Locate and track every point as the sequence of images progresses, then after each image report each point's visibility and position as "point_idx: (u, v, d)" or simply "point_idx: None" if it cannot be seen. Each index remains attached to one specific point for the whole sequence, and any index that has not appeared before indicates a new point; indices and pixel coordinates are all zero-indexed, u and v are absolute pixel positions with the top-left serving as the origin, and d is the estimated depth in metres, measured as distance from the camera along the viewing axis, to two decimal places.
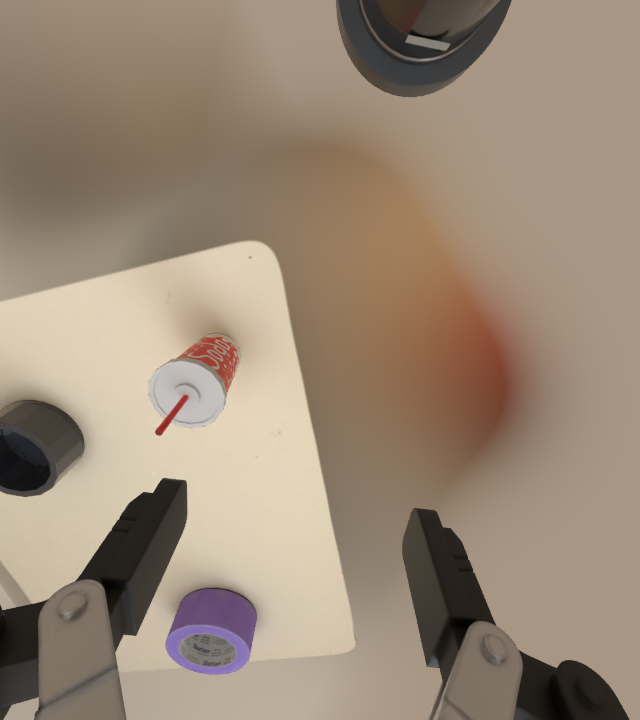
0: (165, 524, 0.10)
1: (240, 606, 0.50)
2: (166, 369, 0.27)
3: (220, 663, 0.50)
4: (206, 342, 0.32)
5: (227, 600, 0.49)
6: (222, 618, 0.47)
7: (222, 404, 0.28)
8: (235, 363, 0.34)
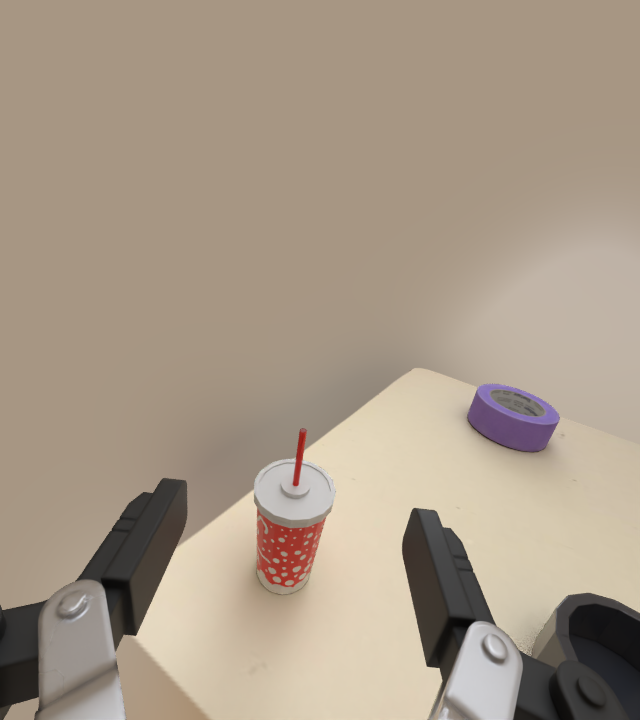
0: (165, 524, 0.10)
1: (473, 416, 0.55)
2: (282, 512, 0.24)
3: (514, 394, 0.57)
4: (262, 557, 0.27)
5: (481, 424, 0.53)
6: (486, 411, 0.52)
7: (279, 461, 0.28)
8: None
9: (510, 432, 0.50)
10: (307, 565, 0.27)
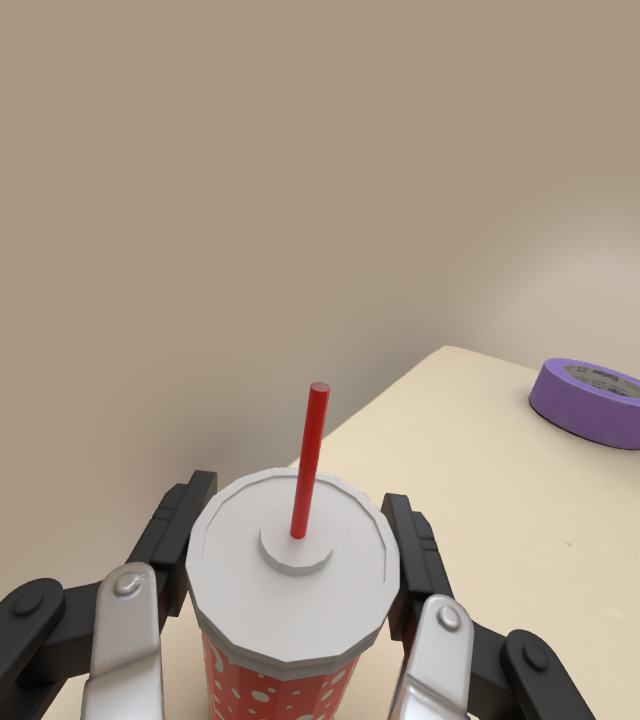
0: None
1: (541, 401, 0.39)
2: (259, 632, 0.08)
3: (592, 371, 0.42)
4: (216, 712, 0.11)
5: (556, 412, 0.38)
6: (566, 392, 0.37)
7: (259, 473, 0.12)
8: None
9: (605, 421, 0.35)
10: None
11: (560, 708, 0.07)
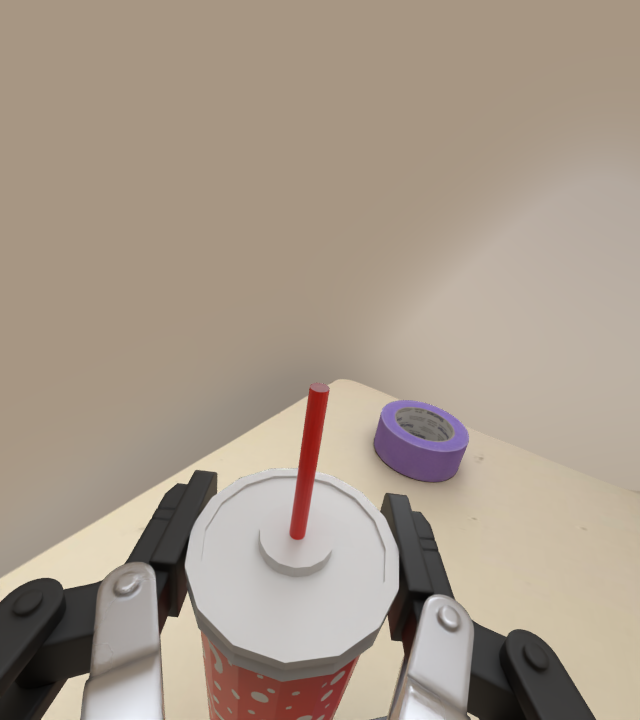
0: None
1: (376, 439, 0.48)
2: (258, 633, 0.08)
3: (427, 412, 0.51)
4: (215, 713, 0.11)
5: (382, 449, 0.46)
6: (386, 435, 0.45)
7: (258, 474, 0.12)
8: None
9: (409, 460, 0.43)
10: None
11: (560, 708, 0.07)
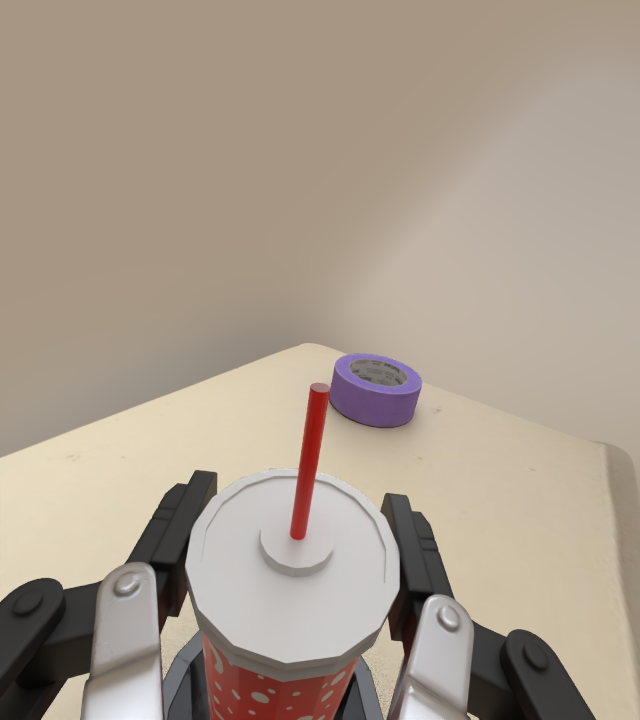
0: None
1: (330, 389, 0.47)
2: (258, 633, 0.08)
3: (384, 364, 0.50)
4: (216, 713, 0.11)
5: (334, 397, 0.46)
6: (337, 381, 0.45)
7: (258, 474, 0.12)
8: None
9: (358, 404, 0.43)
10: None
11: (560, 708, 0.07)
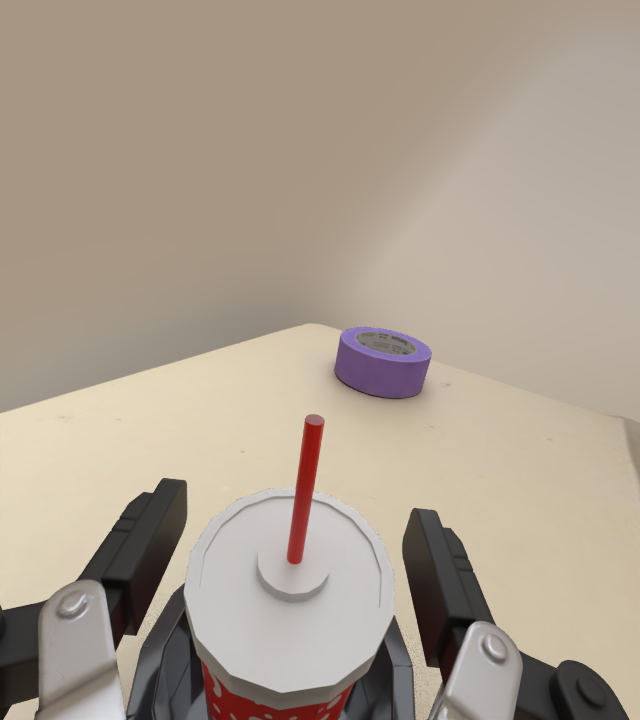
0: (165, 524, 0.10)
1: (336, 361, 0.46)
2: (255, 661, 0.08)
3: (391, 337, 0.48)
4: None
5: (340, 369, 0.44)
6: (344, 351, 0.43)
7: (257, 494, 0.13)
8: None
9: (366, 374, 0.41)
10: None
11: None
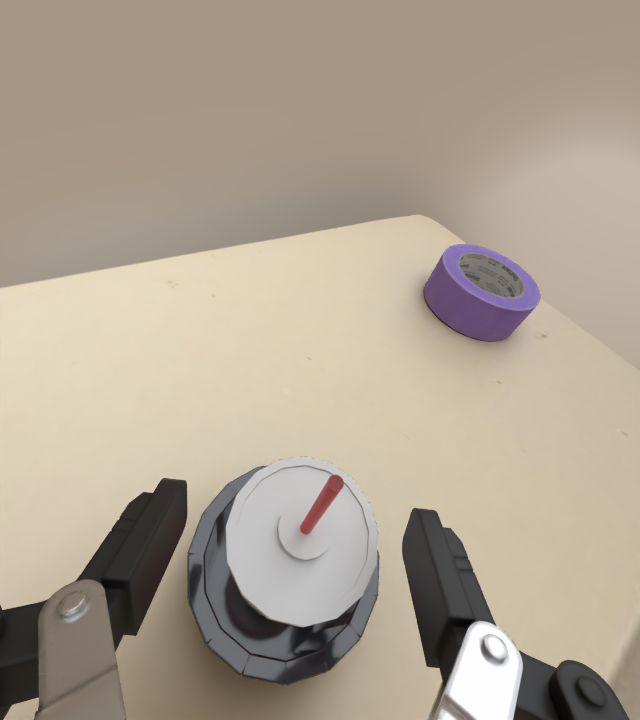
0: (165, 524, 0.10)
1: (429, 279, 0.42)
2: (259, 592, 0.12)
3: (502, 267, 0.42)
4: None
5: (429, 290, 0.41)
6: (439, 274, 0.39)
7: (294, 459, 0.16)
8: None
9: (454, 306, 0.38)
10: None
11: None
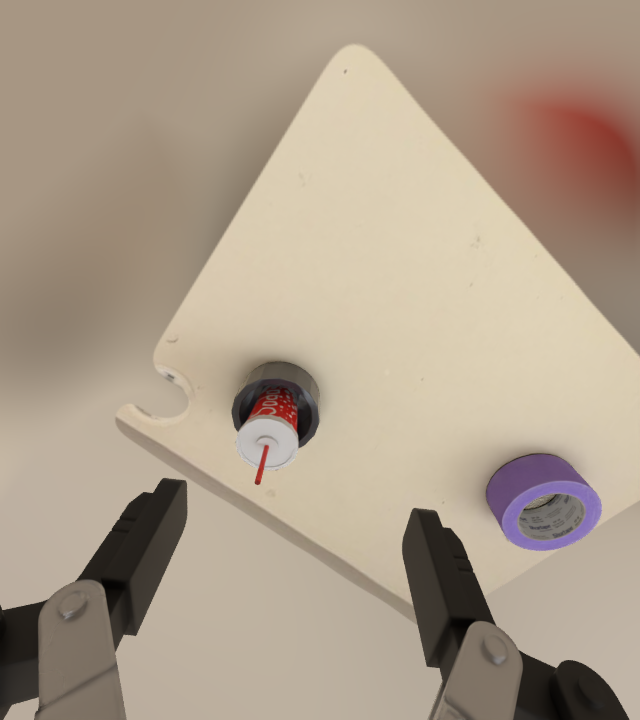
0: (165, 524, 0.10)
1: (551, 461, 0.44)
2: (241, 436, 0.34)
3: (571, 527, 0.44)
4: (260, 398, 0.38)
5: (533, 461, 0.44)
6: (544, 475, 0.42)
7: (293, 435, 0.33)
8: (291, 398, 0.39)
9: (508, 482, 0.44)
10: None
11: None
